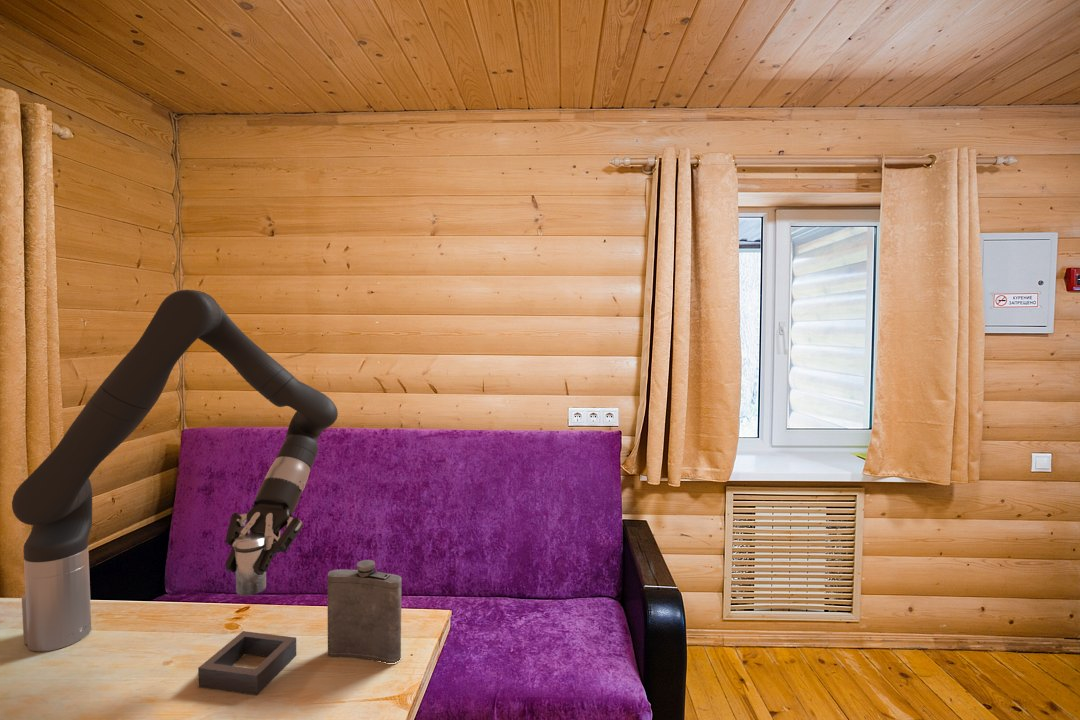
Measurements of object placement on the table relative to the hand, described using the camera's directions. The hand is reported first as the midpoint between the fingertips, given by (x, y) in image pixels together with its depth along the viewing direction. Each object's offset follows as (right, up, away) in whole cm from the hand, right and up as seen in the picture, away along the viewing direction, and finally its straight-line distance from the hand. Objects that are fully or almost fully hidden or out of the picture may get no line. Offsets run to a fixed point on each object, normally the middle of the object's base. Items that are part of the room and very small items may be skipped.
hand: (244, 571), depth 95 cm
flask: (+20, -18, +6) cm, 28 cm away
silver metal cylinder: (0, -4, +2) cm, 5 cm away
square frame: (+1, -18, +1) cm, 18 cm away
